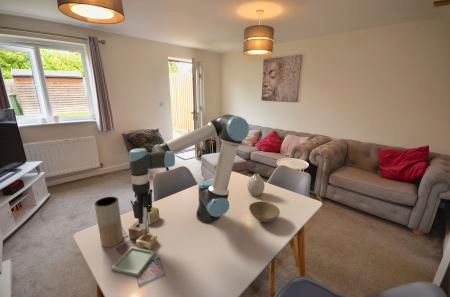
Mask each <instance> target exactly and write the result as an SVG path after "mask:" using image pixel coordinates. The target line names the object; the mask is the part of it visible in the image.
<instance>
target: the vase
mask: <svg viewBox="0 0 450 297" xmlns="http://www.w3.org/2000/svg"><path fill="white" fill-rule="evenodd" d="M246 185H247V190H248V193H249V194H250V195H251V196H252V195H253V196H252V197H255V196H257V197H260V196H261V195H262V194H263V193H264V191H265V182H264V178H263V177H261V175H260V173H254V174H253V175H251V177H250V178H249V179H248V181H247V184H246ZM259 195H260V196H259Z"/></svg>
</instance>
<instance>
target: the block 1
mask: <svg viewBox="0 0 450 297" xmlns="http://www.w3.org/2000/svg"><path fill="white" fill-rule="evenodd" d="M149 226H150V224H149V225H148V229H149V230H150V227H149ZM141 235H142V229H141V228H140V225H139V221H138V220H136V221H135V222H134V223H132V225H131V226H129V228H128V236H129V239H130V240H134V239H136V240H137V239H138V238H139V237H140V236H141ZM136 240H135V241H136Z"/></svg>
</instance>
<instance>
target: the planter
mask: <svg viewBox="0 0 450 297" xmlns="http://www.w3.org/2000/svg"><path fill="white" fill-rule="evenodd" d="M94 209H95V215H96V221H97V228H98V232H99V239H100V244H101V246H102V247H104V248H111V247H115V246H117V245H119V244H120V243H122V241H123V239H124V232H123V226H122V219H121V212H120V210H121V209H120V204H119V198H118V197H117V196H111V195H110V196H105V197H102V198H99V199H97V200H96V201H95V202H94Z"/></svg>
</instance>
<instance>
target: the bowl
mask: <svg viewBox="0 0 450 297" xmlns="http://www.w3.org/2000/svg"><path fill="white" fill-rule="evenodd" d="M248 209H249V212H250V214H251V215H252V216H253V217H254V218H255V219H256V220H258V221H259V222H262V223H269V222H271V221H273V220H276V219H277V218H278V217H279V216H280V214H281V210H280V208H279V207H278V206H277V205H275V204H273V203H271V202H267V201H260V200H259V201H254V202H252V203H250V205H249V207H248Z"/></svg>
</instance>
